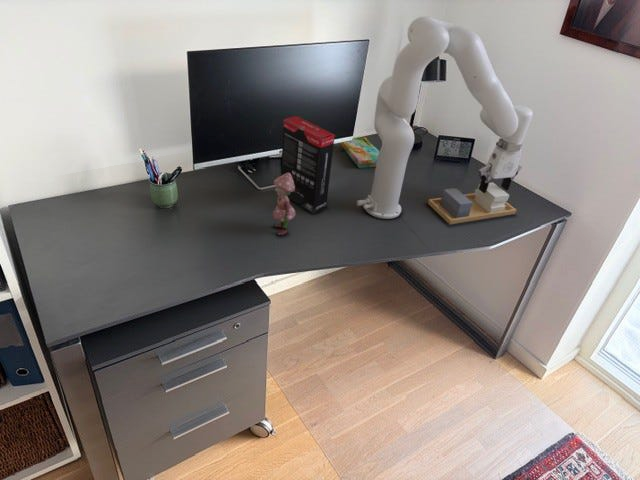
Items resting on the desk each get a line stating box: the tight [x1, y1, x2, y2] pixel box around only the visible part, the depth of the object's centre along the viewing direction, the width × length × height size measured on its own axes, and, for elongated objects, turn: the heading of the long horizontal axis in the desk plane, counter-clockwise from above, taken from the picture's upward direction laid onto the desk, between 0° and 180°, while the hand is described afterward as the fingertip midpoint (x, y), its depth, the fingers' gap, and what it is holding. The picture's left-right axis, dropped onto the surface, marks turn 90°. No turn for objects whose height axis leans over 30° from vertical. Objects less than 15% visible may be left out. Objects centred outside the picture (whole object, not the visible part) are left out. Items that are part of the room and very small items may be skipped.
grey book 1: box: [441, 187, 473, 212], centre depth 168 cm, size 5×10×3 cm, turn 22°
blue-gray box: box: [440, 197, 471, 218], centre depth 169 cm, size 5×10×3 cm, turn 22°
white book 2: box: [473, 188, 505, 207], centre depth 174 cm, size 6×9×2 cm
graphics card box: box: [280, 115, 336, 214], centre depth 160 cm, size 17×7×27 cm, turn 47°
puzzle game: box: [340, 137, 380, 169], centre depth 198 cm, size 12×5×20 cm
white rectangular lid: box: [476, 182, 510, 203], centre depth 172 cm, size 6×9×2 cm
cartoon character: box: [272, 173, 296, 236], centre depth 147 cm, size 10×7×20 cm
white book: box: [474, 196, 506, 213], centre depth 175 cm, size 6×9×2 cm
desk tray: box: [427, 192, 517, 225], centre depth 173 cm, size 28×14×2 cm, turn 112°
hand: (493, 189), depth 172 cm, fingers open, 9 cm apart
